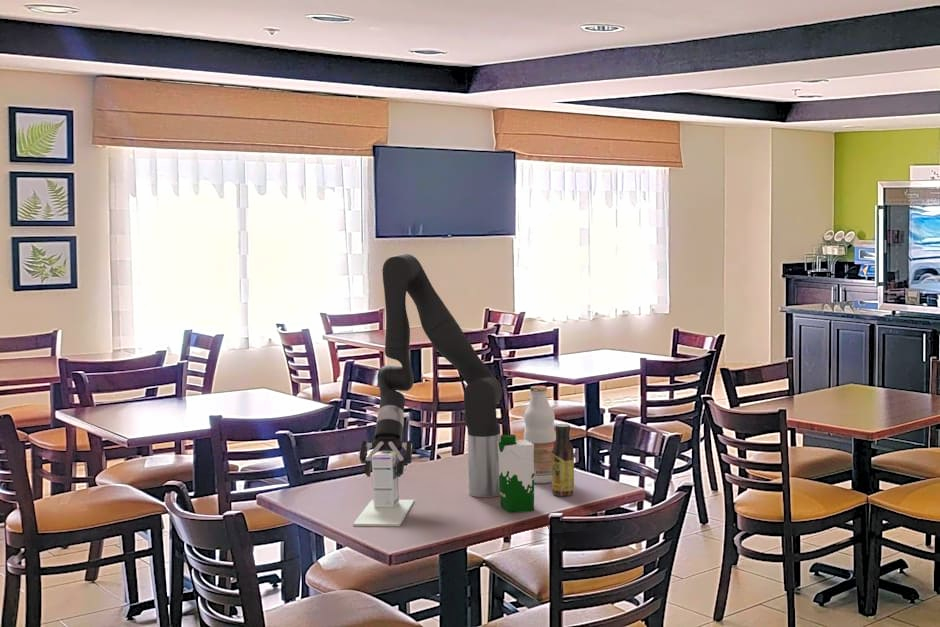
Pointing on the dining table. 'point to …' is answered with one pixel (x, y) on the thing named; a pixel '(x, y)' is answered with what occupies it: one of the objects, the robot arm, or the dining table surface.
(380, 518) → the mat
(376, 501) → the syrup box
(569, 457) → the sauce bottle
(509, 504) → the milk carton
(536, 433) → the fruit juice
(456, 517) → the dining table surface
